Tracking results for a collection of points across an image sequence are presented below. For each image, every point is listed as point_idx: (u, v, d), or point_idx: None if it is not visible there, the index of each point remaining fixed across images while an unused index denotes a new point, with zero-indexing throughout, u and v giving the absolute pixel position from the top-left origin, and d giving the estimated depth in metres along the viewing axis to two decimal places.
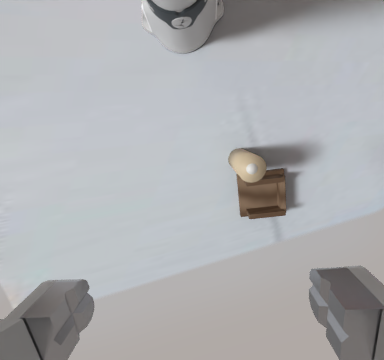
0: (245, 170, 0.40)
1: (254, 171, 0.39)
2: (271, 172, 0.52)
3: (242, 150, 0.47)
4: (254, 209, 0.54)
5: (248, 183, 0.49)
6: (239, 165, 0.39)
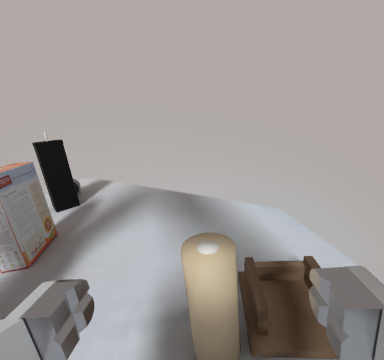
0: (209, 255, 0.19)
1: (213, 243, 0.21)
2: (243, 286, 0.31)
3: None
4: None
5: (261, 306, 0.23)
6: (196, 263, 0.18)
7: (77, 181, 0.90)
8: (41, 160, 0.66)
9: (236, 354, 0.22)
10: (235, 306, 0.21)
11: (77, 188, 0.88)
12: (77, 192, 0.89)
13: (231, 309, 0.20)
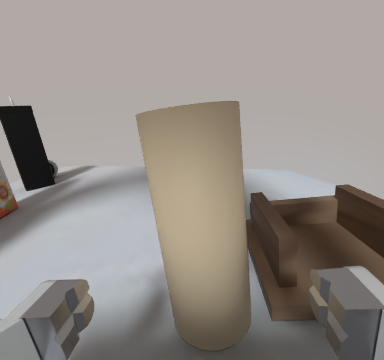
0: None
1: None
2: (250, 234, 0.21)
3: None
4: None
5: (284, 234, 0.14)
6: None
7: (53, 162, 0.80)
8: (5, 128, 0.57)
9: (246, 316, 0.13)
10: (241, 219, 0.11)
11: (53, 170, 0.78)
12: (53, 175, 0.79)
13: (235, 219, 0.10)
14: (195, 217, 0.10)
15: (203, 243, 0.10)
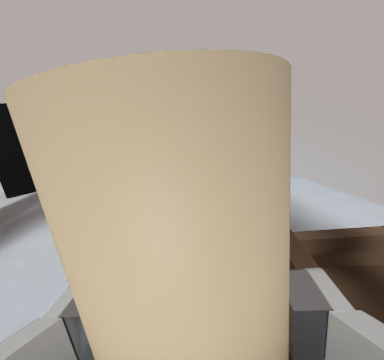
0: None
1: None
2: None
3: None
4: None
5: None
6: None
7: None
8: None
9: None
10: (286, 350, 0.05)
11: None
12: None
13: None
14: None
15: None
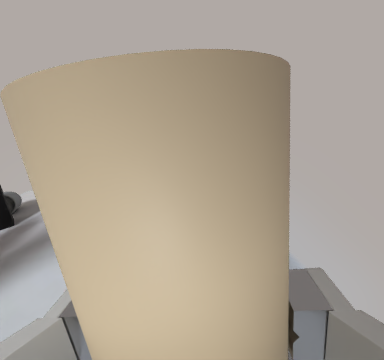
0: None
1: None
2: None
3: None
4: None
5: None
6: None
7: (16, 195, 0.73)
8: None
9: None
10: (285, 352, 0.05)
11: (14, 203, 0.71)
12: (15, 208, 0.72)
13: None
14: None
15: None
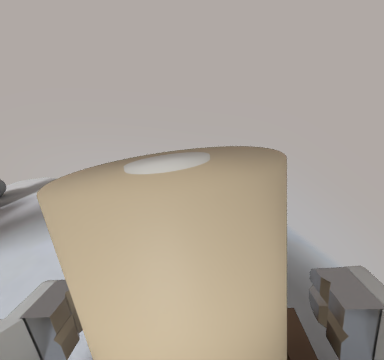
0: (163, 173, 0.04)
1: (191, 154, 0.06)
2: None
3: None
4: None
5: None
6: (75, 199, 0.03)
7: None
8: None
9: None
10: None
11: None
12: None
13: None
14: None
15: None
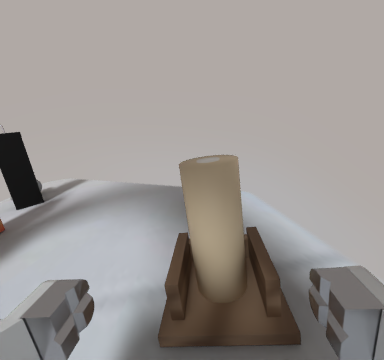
0: (209, 162, 0.18)
1: (213, 158, 0.19)
2: None
3: None
4: (261, 289, 0.20)
5: (170, 282, 0.18)
6: (196, 166, 0.17)
7: (37, 181, 0.84)
8: None
9: (243, 283, 0.21)
10: (240, 223, 0.19)
11: None
12: None
13: (236, 224, 0.18)
14: (214, 223, 0.18)
15: (218, 237, 0.18)
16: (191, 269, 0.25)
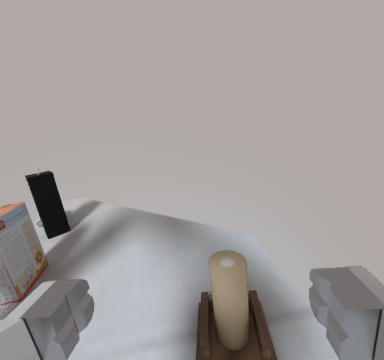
0: (229, 267, 0.29)
1: (230, 259, 0.31)
2: (200, 317, 0.37)
3: (213, 306, 0.33)
4: (258, 342, 0.31)
5: (203, 339, 0.29)
6: (221, 273, 0.28)
7: None
8: (33, 193, 0.72)
9: (247, 336, 0.32)
10: (246, 301, 0.30)
11: None
12: None
13: (244, 303, 0.30)
14: (231, 305, 0.29)
15: (233, 312, 0.29)
16: (210, 319, 0.37)
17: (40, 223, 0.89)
